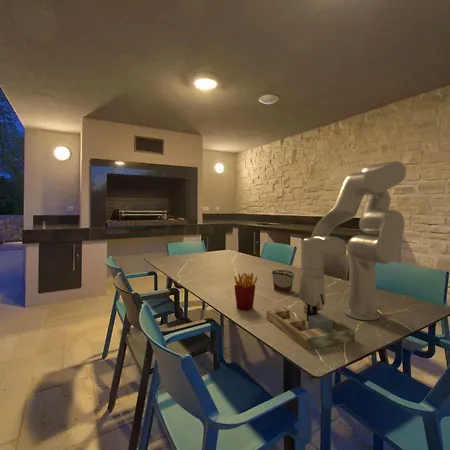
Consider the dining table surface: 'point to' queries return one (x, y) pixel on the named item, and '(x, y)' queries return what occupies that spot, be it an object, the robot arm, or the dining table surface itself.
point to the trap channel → (312, 336)
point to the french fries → (245, 291)
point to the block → (320, 323)
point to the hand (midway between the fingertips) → (311, 321)
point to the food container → (283, 280)
